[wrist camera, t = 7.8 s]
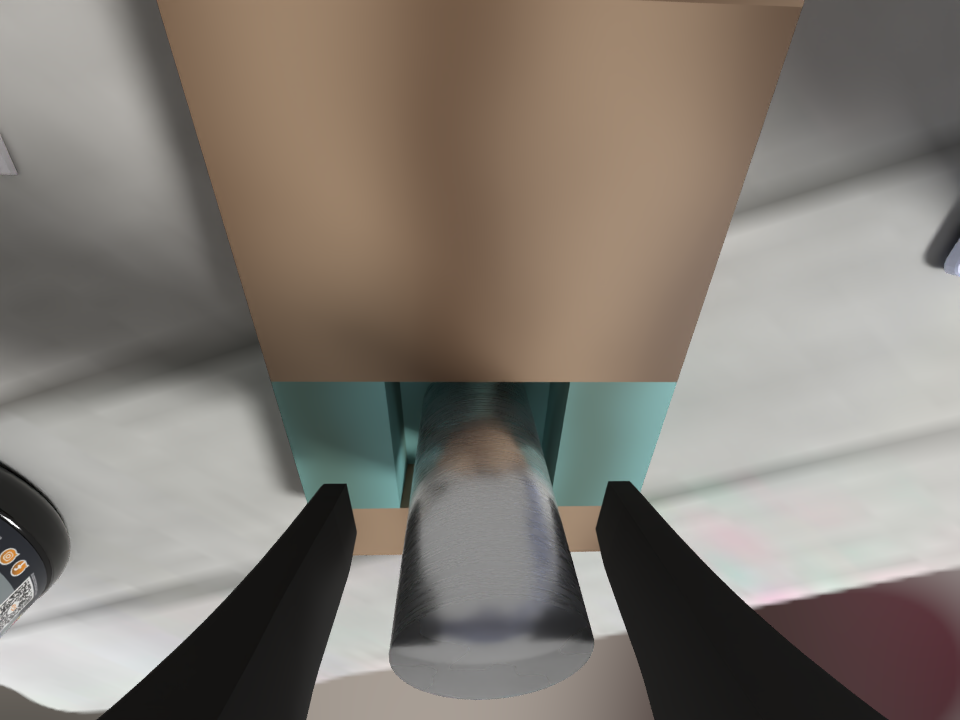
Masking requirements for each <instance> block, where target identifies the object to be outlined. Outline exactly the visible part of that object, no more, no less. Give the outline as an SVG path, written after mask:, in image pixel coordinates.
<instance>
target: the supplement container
mask: <svg viewBox="0 0 960 720" xmlns="http://www.w3.org/2000/svg"><path fill="white" fill-rule="evenodd" d="M69 556H70V539H69V536H68V532H67V530H66V527H65V525H64V523H63V521H62V519H61V518H60V516H59V514H58V513H57V512H56V510H55V509H54V508H53V507H52V505H51V504H50V503H49V502H48V501H47V500H46V499H45V498H44V497H43V496H42V495H41V494H40V493H39V492H37V491H36V490H35V489H34V488H33V487H31V486H30V485H29V484H27V483H26V482H25V481H23V480H22V479H20V478H19V477H17V476H16V475H14V474H13V473H11V472H9V471H8V470H6V469H4V468H3V467H1V466H0V638H1V637H2V636H3V634H4V633H5V632H6V631H7V630H8V629H9V628H10V627H11V626H12V625H13V624H14V623H15V622H16V621H17V620H18V619H19V618H20V616H21V615H22V614H23V613H24V612H25V611H26V610H27V609H28V608H29V607H30V606H31V605H32V604H33V603H34V602H35V601H36V600H37V599H38V598H40V597H41V596H42V595H43V594H45V593H46V592H47V591H48V590H49V589H50V587H51V586H52V585H53V584H54V583H55V582H56V581H57V580H58V578H59V577H60V575H61V574H62V572H63V571H64V569H65V567H66V565H67V562H68V559H69Z"/></svg>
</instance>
